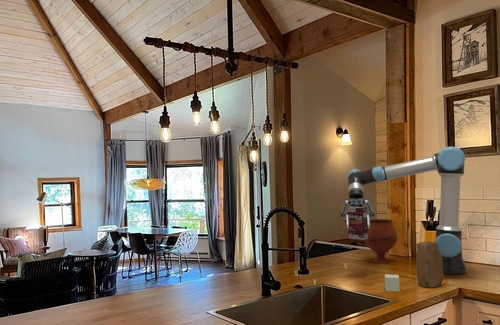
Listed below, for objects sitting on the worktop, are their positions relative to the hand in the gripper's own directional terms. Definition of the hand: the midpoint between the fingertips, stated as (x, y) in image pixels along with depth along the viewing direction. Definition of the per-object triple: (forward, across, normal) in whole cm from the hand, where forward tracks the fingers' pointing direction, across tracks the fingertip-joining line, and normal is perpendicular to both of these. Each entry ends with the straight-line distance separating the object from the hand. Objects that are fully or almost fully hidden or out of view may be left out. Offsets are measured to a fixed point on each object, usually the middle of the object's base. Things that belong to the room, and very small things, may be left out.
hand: (358, 226), depth 205 cm
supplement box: (+2, 0, -7) cm, 7 cm away
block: (+24, -31, -14) cm, 42 cm away
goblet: (-13, -14, -51) cm, 54 cm away
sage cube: (+29, -13, -8) cm, 33 cm away
